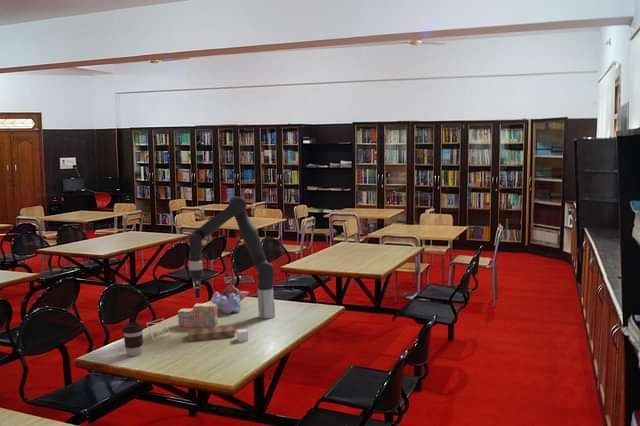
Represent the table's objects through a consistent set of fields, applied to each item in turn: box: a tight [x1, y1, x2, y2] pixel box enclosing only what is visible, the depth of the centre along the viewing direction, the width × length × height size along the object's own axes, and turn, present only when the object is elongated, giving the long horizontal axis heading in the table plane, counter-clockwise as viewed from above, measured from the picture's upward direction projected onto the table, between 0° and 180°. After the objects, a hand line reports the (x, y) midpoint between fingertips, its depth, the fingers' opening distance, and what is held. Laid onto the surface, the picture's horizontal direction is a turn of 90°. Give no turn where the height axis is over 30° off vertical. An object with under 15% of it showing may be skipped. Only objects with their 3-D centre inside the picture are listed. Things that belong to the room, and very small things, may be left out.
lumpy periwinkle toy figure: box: [210, 283, 251, 315], centre depth 360 cm, size 20×22×18 cm
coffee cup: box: [121, 322, 144, 357], centre depth 284 cm, size 10×10×15 cm
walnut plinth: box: [187, 324, 236, 342], centre depth 309 cm, size 24×10×4 cm, turn 104°
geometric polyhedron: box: [146, 318, 172, 342], centre depth 309 cm, size 12×11×9 cm
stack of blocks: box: [177, 303, 219, 328], centre depth 329 cm, size 21×6×12 cm, turn 85°
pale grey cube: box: [236, 328, 249, 343], centre depth 302 cm, size 5×5×5 cm
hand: (197, 296), depth 328 cm, fingers open, 8 cm apart
